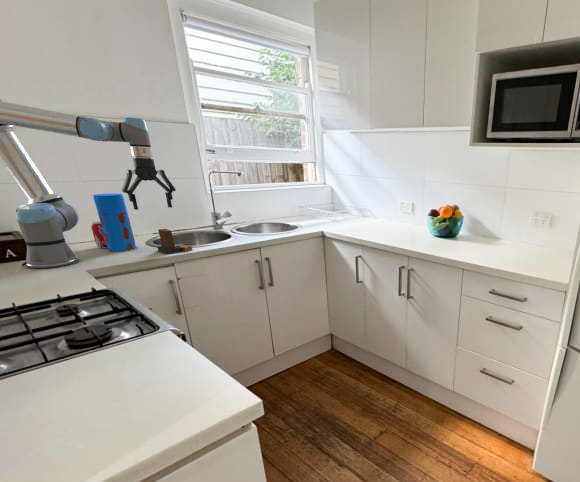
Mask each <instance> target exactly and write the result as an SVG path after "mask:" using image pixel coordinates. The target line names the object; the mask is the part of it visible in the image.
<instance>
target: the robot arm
mask: <svg viewBox="0 0 580 482" xmlns="http://www.w3.org/2000/svg"><path fill="white" fill-rule="evenodd" d="M16 127H18V128H25V129H29V130H36V131H40V132H46V133H47V132H48V133H52V134H58V135H64V136H65V135H66V136H72V137H77V138H82V139H87V140H91V141H96V142H105V143H106V142H114V143H115V142H117V143H128V144H129V148H130V153H131V156H132V162H133V167H134V170H132V169H129V168H128V169H126V170H125V171H126V175H125V179H124V182H123V185H122V189H121V192H122V193H125V194H127V196H128V200H129V202H131V203H132V207H133V209H134V210H136V211H138V210H139V207H138V203H137V198H136V194H135V193H134V192H135V190H136V189H137V188H138V186H139V185H140V183H141V182H142V181H144V182H147V181H150V182H151V181H153V182H155V183H157V184H158V185H159V186H160V187H161V188H162V189H163V190H164V191H165V192H164V193H165V199H166V204H167V208H172V209H173V204H172V200H173V192H176V191H177V189H176V187H175V186H174V184H173V183H172V182H171V181H170V180H169V178H168V176H167V175H166V173H165V169H158V170H157V169H156V164H155V160H154V158H153V157H154V155H153V149H152V145H151V140H150V134H149V130H148V125H147V122H146V120H145V119H144V118H141V117H130V116H129V117H127V116H125V117H123V121H119V122H118V121H109V120H108V121H106V120H101V119H97V118H93V117H85V116H80V115H76V114H70V113H65V112H61V111H55V110H50V109H45V108H38V107H34V106H28V105H23V104H18V103H13V102H8V101H3V100H2V98H0V160H1V162H2V163H3V164H4V165H3V166H4V167H6V169H7V171H8V172H9V173H10V175H11V176H12V177H13V179H14V180H15V182H16V183H17V185H18V186H19V188H20V189H21V190H22V192H23V193H24V195H25V196H26V197H27V199H28V202H27V203H26V204H22V205H18V206H17V207H16V208H15V209H14V215H15V219H16V221H17V223H18V226H19V229H20V232H21V234H22V238H23V240H24V242H25V245H26V260H25V261H24V262H23V263H22V264H21V266H22V267H25V266H27V267H28V268H29V269H52V268H60V267H64V266H65V267H66V266H69V265H72V264H75V263H77V262H79V261H78V257H77V255H76V254H75V253H74V251H73V250H72V249H75V248H74V247H73V248H72V249H71V248H70V246H69V245H68V244H67V243H66V239H65V236H64V232H68V231H71V230H72V229H74V228H75V227H76V226H77V225H78V222H79V220H80V219H79V214H78V211H77V210H76V209H75V208H74V207H73V206H72V205H71V204H69V203H66V201H65V199H64V198H63V196H62V195H60V194H58V193H55V192H54V190H53V189H52V188H51V186H50V185H49V183H48V182H47V180H46V179H45V177H44V176H43V174H42V173H41V171H40V170H39V168H38V166H37V165H36V163H35V162H34V160H33V159H32V157H31V156H30V155H29V153H28V151H27V150H26V148H25V147H24V146H23V144H22V143H21V141H20V139H19V137H17V135H16V133H15V130H16ZM134 174H135V175H136V178H135V180H134V181H133V183H132V184H131V181H132V179H133V176H134ZM157 175H159V176H160V177H161V178H162V180H163V181H164V182H165V183H164V182H163V181H161V179H159V177H158V176H157ZM130 184H131V185H130Z"/></svg>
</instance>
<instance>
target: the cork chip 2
mask: <svg viewBox="0 0 580 482" xmlns="http://www.w3.org/2000/svg"><path fill="white" fill-rule="evenodd" d="M179 248H180V251H181V252H184V253H186V252H190V251H192V250H193V246H192V245H186V244H184V246H180V247H179Z"/></svg>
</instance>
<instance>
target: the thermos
mask: <svg viewBox="0 0 580 482" xmlns="http://www.w3.org/2000/svg"><path fill="white" fill-rule="evenodd" d="M92 197H93V201H94V204H95V208H96V210H97V212H96V213H97V215H98V218H99V221H100V222H101V226H102V229H103V233H104V236H105V239H106V243H107V246H108V248H107V249H108V251H109V252H117V253H118V252H127V251H133V250H136V249H137V245H136V240H135V237H134V233H133V229H132V224H131V221H130V216H129V214H128V209H127V206H126V202H125V198H124V195H123V193H115V192H114V193H96V194H92Z"/></svg>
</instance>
